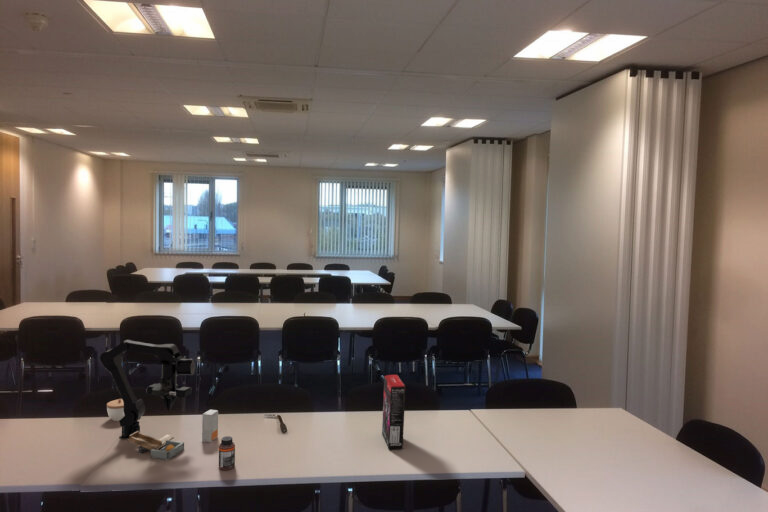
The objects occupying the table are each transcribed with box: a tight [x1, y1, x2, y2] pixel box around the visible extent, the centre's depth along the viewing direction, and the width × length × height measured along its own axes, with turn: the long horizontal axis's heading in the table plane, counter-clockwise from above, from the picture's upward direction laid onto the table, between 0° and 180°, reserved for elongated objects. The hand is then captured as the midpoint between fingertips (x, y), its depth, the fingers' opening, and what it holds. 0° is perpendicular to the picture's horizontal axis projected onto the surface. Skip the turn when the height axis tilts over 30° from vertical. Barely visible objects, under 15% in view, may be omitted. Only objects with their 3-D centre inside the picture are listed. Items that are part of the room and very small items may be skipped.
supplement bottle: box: [218, 435, 236, 471], centre depth 195 cm, size 6×6×11 cm
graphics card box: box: [381, 374, 406, 450], centre depth 222 cm, size 17×7×27 cm, turn 10°
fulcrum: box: [137, 446, 149, 455], centre depth 208 cm, size 2×6×2 cm, turn 167°
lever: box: [127, 431, 175, 451], centre depth 212 cm, size 12×13×2 cm
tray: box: [150, 440, 185, 461], centre depth 205 cm, size 8×10×3 cm
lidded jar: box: [106, 398, 125, 422], centre depth 241 cm, size 11×11×9 cm
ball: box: [166, 445, 174, 451], centre depth 205 cm, size 3×3×3 cm
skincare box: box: [201, 409, 219, 443], centre depth 220 cm, size 6×4×12 cm
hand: (169, 409), depth 221 cm, fingers closed
